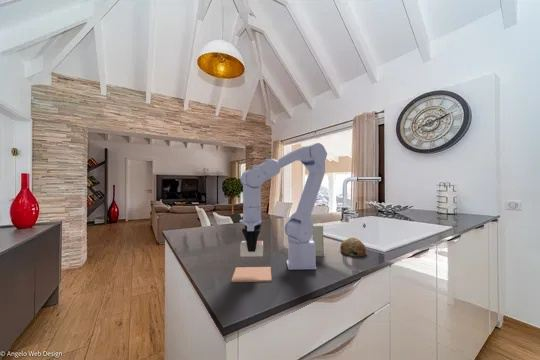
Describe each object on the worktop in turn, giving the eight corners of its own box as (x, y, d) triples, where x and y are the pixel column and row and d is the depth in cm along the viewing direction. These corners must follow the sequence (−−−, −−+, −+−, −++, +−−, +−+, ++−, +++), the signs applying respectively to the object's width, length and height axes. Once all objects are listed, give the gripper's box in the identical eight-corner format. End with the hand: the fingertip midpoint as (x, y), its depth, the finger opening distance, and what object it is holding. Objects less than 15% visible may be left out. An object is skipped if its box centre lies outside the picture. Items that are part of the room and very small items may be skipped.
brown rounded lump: (341, 263, 90) (342, 248, 87) (338, 246, 99) (339, 231, 96) (367, 264, 88) (369, 249, 85) (361, 246, 97) (363, 232, 94)
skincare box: (324, 257, 87) (323, 226, 87) (312, 256, 88) (312, 225, 88) (323, 252, 93) (323, 223, 93) (312, 251, 94) (312, 223, 94)
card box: (242, 251, 73) (242, 240, 73) (263, 251, 73) (262, 240, 73) (240, 256, 68) (240, 245, 68) (262, 256, 68) (262, 244, 68)
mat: (270, 268, 76) (270, 266, 76) (271, 281, 66) (271, 279, 66) (235, 268, 76) (235, 267, 76) (231, 282, 66) (231, 280, 66)
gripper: (242, 204, 78) (242, 242, 78) (236, 209, 64) (236, 256, 64) (261, 204, 78) (262, 242, 78) (260, 209, 64) (261, 256, 64)
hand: (252, 248), depth 71 cm, fingers closed on card box, 5 cm apart
